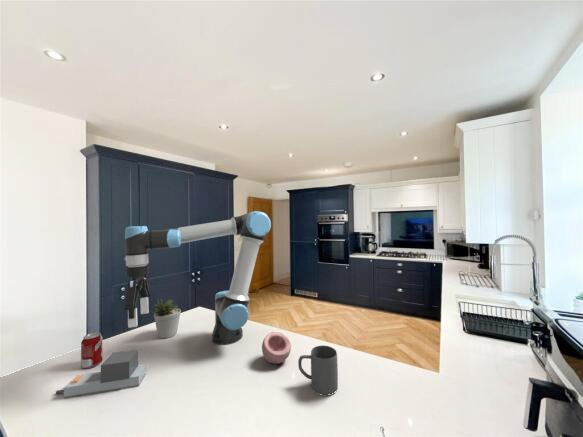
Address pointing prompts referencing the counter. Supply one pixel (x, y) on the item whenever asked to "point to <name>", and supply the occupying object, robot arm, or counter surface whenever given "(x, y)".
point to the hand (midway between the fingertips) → (139, 319)
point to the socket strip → (92, 384)
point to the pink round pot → (276, 347)
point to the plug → (119, 366)
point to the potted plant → (166, 319)
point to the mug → (322, 369)
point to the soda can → (91, 350)
